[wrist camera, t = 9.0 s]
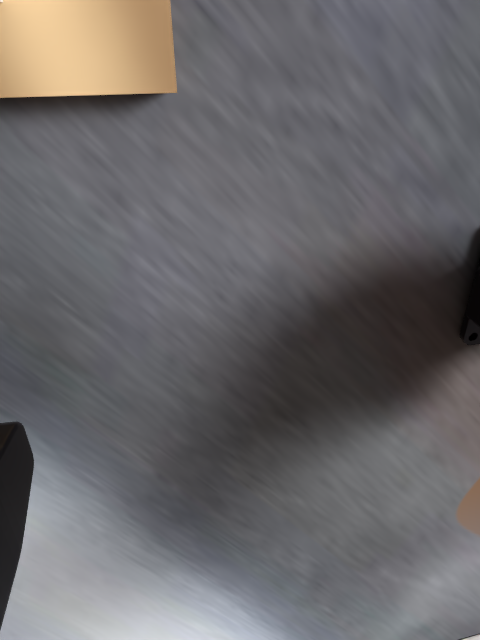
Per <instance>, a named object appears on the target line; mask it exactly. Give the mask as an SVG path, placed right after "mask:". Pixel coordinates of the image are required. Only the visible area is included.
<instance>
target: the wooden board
mask: <svg viewBox="0 0 480 640" xmlns="http://www.w3.org/2000/svg"><path fill="white" fill-rule="evenodd" d="M149 93H177V86H176V73H175V60H174V47H173V34H172V21H171V8H170V0H3V2H0V98H8V97H43V96H78V95H114V94H149Z"/></svg>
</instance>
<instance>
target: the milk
mask: <svg viewBox="0 0 480 640" xmlns="http://www.w3.org/2000/svg"><path fill="white" fill-rule="evenodd" d="M461 640H480V634H479V635H475V636H472V637H468V638H465V639H461Z"/></svg>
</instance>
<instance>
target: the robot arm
mask: <svg viewBox="0 0 480 640" xmlns="http://www.w3.org/2000/svg"><path fill="white" fill-rule="evenodd" d="M472 333H473V334H472ZM471 334H472V335H471ZM470 335H471V336H470ZM460 338H461V340H462V341H463V342H464V343H466V344H467V345H475V344H480V260H479V264H478V268H477V271H476V275H475V279H474V283H473V286H472V290H471V294H470V298H469V301H468V305H467V309H466V312H465V316H464V320H463V324H462V327H461V331H460ZM33 468H34V458H33V453H32V450H31V447H30V444H29V441H28V438H27V435H26V432H25V429H24V426H23V425H22V424H21V423H20V422H7V423H0V630H1V626H2V622H3V619H4V615H5V611H6V607H7V604H8V600H9V596H10V592H11V588H12V585H13V581H14V577H15V573H16V570H17V566H18V562H19V557H20V553H21V549H22V543H23V537H24V530H25V523H26V516H27V509H28V503H29V496H30V489H31V482H32V475H33Z"/></svg>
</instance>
